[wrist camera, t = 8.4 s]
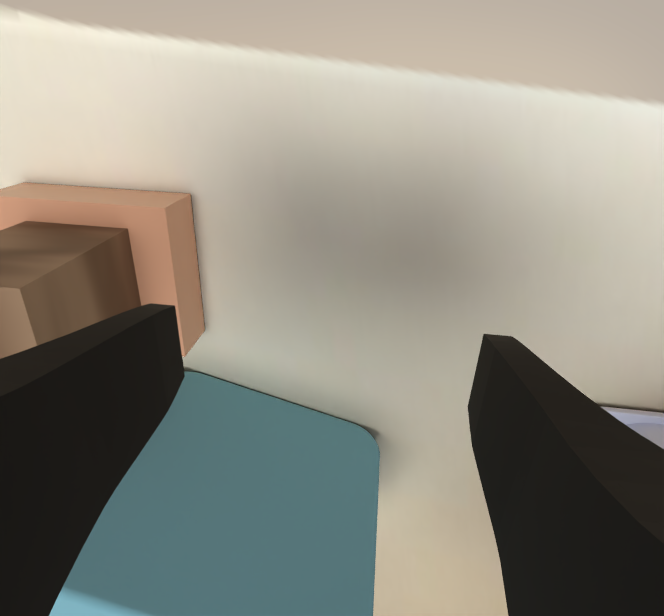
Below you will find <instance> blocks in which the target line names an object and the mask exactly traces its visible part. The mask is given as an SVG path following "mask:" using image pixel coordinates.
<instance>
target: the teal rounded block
mask: <svg viewBox="0 0 664 616" xmlns="http://www.w3.org/2000/svg"><path fill="white" fill-rule="evenodd" d="M184 374H185V377H184V379H183V381H182V383H181V386H180V388H179V390H178V392H177V394H176V396H175V398H174V400H173V402H172V404H171V406H170V408H169V410H168V412H167V414H166V415H165V417H164V418H163V420H162V421H161V423H160V424H159V426H158V427H157V429H156V430H155V432H154V433H153V435H152V436H151V438H150V439H149V441H148V442H147V444H146V445H145V447H144V448H143V449H142V451H141V452H140V454H139V455H138V457H137V458H136V460H135V461H134V463H133V464H132V466H131V467H130V469H129V470H128V472H127V473H126V474H125V476H124V477H123V479H122V480H121V482H120V483H119V485H118V486H117V488H116V489H115V491H114V492H113V494H112V496H111V497H110V499H109V501H108V502H107V504H106V505H105V507H104V509H103V511H102V512H101V514H100V516H99V518H98V520H97V522H96V524H95V525H94V527H93V529H92V531H91V533H90V535H89V537H88V538H87V540H86V542H85V544H84V546H83V548H82V550H81V552H80V554H79V556H78V558H77V560H76V562H75V564H74V566H73V568H72V570H71V572H70V573H69V575H68V577H67V579H66V581H65V583H64V585H63V587H62V589H61V591H60V593H59V595H58V597H57V600H56V602H55V604H54V606H53V608H52V610H51V612H50V615H49V616H373V602H374V579H375V556H376V533H377V509H378V486H379V463H380V451H379V447H378V445H377V443H376V441H375V439H374V438H373V437H372V435H371V434H370V433H369V432H367V431H366V430H365V429H363V428H362V427H360V426H358V425H356V424H353V423H350V422H347V421H344V420H341V419H338V418H335V417H332V416H329V415H326V414H323V413H320V412H317V411H314V410H311V409H308V408H305V407H302V406H299V405H296V404H293V403H290V402H287V401H284V400H281V399H277V398H274V397H271V396H268V395H265V394H262V393H259V392H256V391H253V390H250V389H247V388H244V387H241V386H238V385H235V384H232V383H229V382H226V381H223V380H220V379H217V378H214V377H211V376H208V375H205V374H201V373H197V372H184Z"/></svg>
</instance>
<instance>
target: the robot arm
mask: <svg viewBox="0 0 664 616" xmlns="http://www.w3.org/2000/svg"><path fill="white" fill-rule="evenodd" d="M184 377H185V374H184V367H183V360H182V353H181V345H180V338H179V331H178V324H177V316H176V309H175V306H174V305H163V304H153V303H150V304H146V305H142V306H139V307H136V308H133V309H130V310H128V311H125V312H122V313H120V314H117V315H115V316H112V317H110V318H107V319H105V320H102V321H100V322H97V323H95V324H92V325H90V326H87V327H85V328H82V329H80V330H77V331H75V332H72V333H70V334H67V335H65V336H62V337H59V338H57V339H54V340H51V341H48V342H46V343H43V344H40V345H38V346H35V347H32V348H30V349H27V350H24V351H21V352H19V353H16V354H13V355H10V356H7V357H4V358H1V359H0V616H49V615H50V612H51V610H52V608H53V606H54V604H55V602H56V600H57V597H58V595H59V593H60V591H61V589H62V587H63V585H64V583H65V581H66V579H67V577H68V575H69V573H70V572H71V570H72V568H73V566H74V564H75V562H76V560H77V558H78V556H79V554H80V552H81V550H82V548H83V546H84V544H85V542H86V540H87V538H88V537H89V535H90V533H91V531H92V529H93V527H94V525H95V524H96V522H97V520H98V518H99V516H100V514H101V512H102V511H103V509H104V507H105V505H106V504H107V502H108V501H109V499H110V497H111V496H112V494H113V492H114V491H115V489H116V488H117V486H118V485H119V483H120V482H121V480H122V479H123V477H124V476H125V474H126V473H127V472H128V470H129V469H130V467H131V466H132V464H133V463H134V461H135V460H136V458H137V457H138V455H139V454H140V452H141V451H142V449H143V448H144V447H145V445H146V444H147V442H148V441H149V439H150V438H151V436H152V435H153V433H154V432H155V430H156V429H157V427H158V426H159V424H160V423H161V421H162V420H163V418H164V417H165V415H166V414H167V412H168V410H169V408H170V406H171V404H172V402H173V400H174V398H175V396H176V394H177V392H178V390H179V388H180V386H181V383H182V381H183V379H184ZM468 413H469V423H470V432H471V440H472V447H473V451H474V455H475V460H476V464H477V468H478V472H479V476H480V480H481V483H482V487H483V491H484V495H485V499H486V503H487V507H488V511H489V515H490V519H491V522H492V526H493V530H494V534H495V538H496V543H497V547H498V552H499V557H500V562H501V568H502V575H503V582H504V588H505V595H506V602H507V608H508V615H509V616H664V413H660V412H650V411H640V410H631V409H621V408H612V407H602V406H599V405H597V404H596V403H595V402H593V401H592V400H591V399H589V398H588V397H587V396H585V395H584V394H583V393H581V392H580V391H579V390H578V389H576V388H575V387H574V386H573V385H571V384H570V383H569V382H568V381H566V380H565V379H564V378H563V377H561V376H560V375H559V374H558V373H557V372H555V371H554V370H553V369H552V368H550V367H549V366H548V365H547V364H546V363H545V362H543V361H542V360H541V359H540V358H539V357H537V356H536V355H535V354H534V353H533V352H531V351H530V350H529V349H528V348H527V347H525V346H524V345H523V344H522V343H520V342H519V341H518V340H516V339H515V338H513V337H511V336H500V335H489V334H484V335H483V340H482V344H481V349H480V354H479V358H478V363H477V367H476V372H475V376H474V381H473V386H472V390H471V395H470V399H469V404H468Z"/></svg>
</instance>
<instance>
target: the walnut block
mask: <svg viewBox="0 0 664 616" xmlns="http://www.w3.org/2000/svg"><path fill="white" fill-rule="evenodd" d="M139 306H141V301H140V295H139V290H138V284H137V278H136V273H135V267H134V261H133V255H132V250H131V244H130V238H129V233H128V229H127V228H114V227H101V226H88V225H74V224H61V223H48V222H35V221H24V222H21V223H19V224H16V225H14V226H11V227H8V228H6V229H3V230H0V359H1V358H4V357H7V356H10V355H13V354H16V353H19V352H21V351H24V350H27V349H30V348H32V347H35V346H38V345H40V344H43V343H46V342H48V341H51V340H54V339H57V338H59V337H62V336H65V335H67V334H70V333H72V332H75V331H77V330H80V329H82V328H85V327H87V326H90V325H92V324H95V323H97V322H100V321H102V320H105V319H107V318H110V317H112V316H115V315H117V314H120V313H122V312H125V311H128V310H130V309H133V308H136V307H139Z"/></svg>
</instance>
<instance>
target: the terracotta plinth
mask: <svg viewBox="0 0 664 616" xmlns="http://www.w3.org/2000/svg"><path fill="white" fill-rule="evenodd" d="M24 221H35V222H48V223H61V224H74V225H88V226H101V227H114V228H127V229H128V233H129V238H130V244H131V250H132V255H133V261H134V267H135V273H136V278H137V284H138V290H139V295H140V301H141V306H142V305H146V304H150V303H153V304H163V305H174V306H175V309H176V316H177V324H178V331H179V338H180V345H181V353H182V356H184V357H185V356H186V355H187V353H188V352H189V351H190V349H191V348H192V347H193V345H194V344H195V343H196V341H197V340H198V339H199V337H200V336H201V335H202V334H203V332H204V331H205V325H204V316H203V307H202V297H201V288H200V279H199V269H198V260H197V251H196V241H195V232H194V222H193V213H192V204H191V194H186V193H172V192H157V191H142V190H127V189H112V188H97V187H82V186H67V185H52V184H37V183H21V184H17V185H13V186H10V187H6V188H3V189H0V230H3V229H6V228H8V227H11V226H14V225H16V224H19V223H21V222H24Z"/></svg>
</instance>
